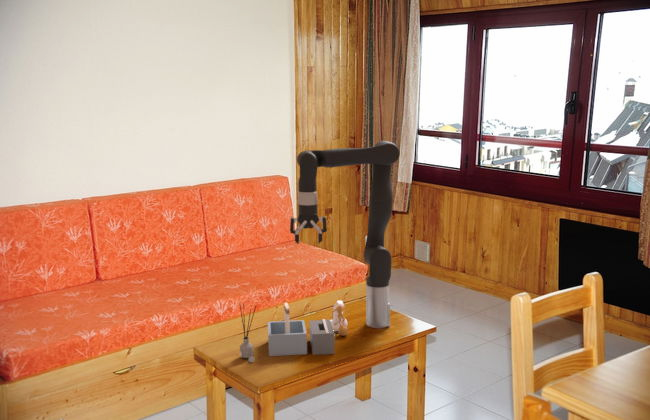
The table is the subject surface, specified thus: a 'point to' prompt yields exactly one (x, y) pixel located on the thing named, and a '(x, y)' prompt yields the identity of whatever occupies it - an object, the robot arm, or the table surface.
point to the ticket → (287, 318)
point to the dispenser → (321, 337)
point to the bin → (287, 338)
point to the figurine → (342, 329)
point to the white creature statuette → (335, 318)
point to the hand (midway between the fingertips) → (308, 243)
